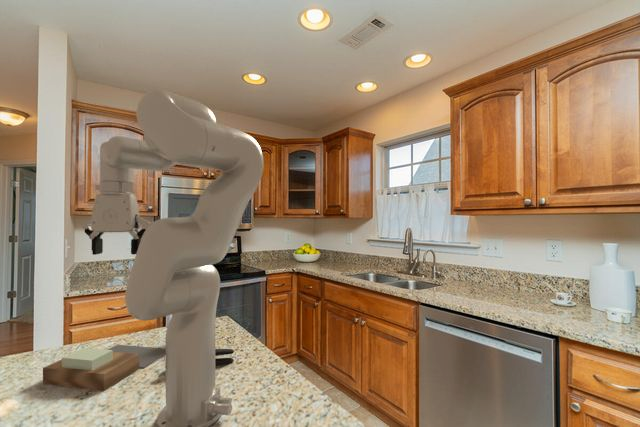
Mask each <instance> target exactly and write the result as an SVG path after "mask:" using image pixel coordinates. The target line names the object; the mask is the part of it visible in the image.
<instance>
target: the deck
mask: <svg viewBox="0 0 640 427" xmlns="http://www.w3.org/2000/svg"><path fill="white" fill-rule="evenodd" d="M138 369H139V370H140V368H139V354H131V353H120V352H113V360H111V361H109V362H107V363H105V364H103V365H102V366H100V367H98V368H96V369H94V370H82V369H72V368H63V367H62V358H61V359H60V360H57V361H55V362H53V363H50V364H49V365H46V366H44V367H42V385H48V386H56V387H66V388H74V389H75V388H76V389H82V390H83V389H84V390H90V391H99V392H105V391H107V390H109V389H110V388H112V387H113V386H115V385H117V384H118V383H119V382H121V381H123V380H124V379H126V378H127V377H129V376H131V375H133V374H134V373H136V372H137V371H139V370H138Z"/></svg>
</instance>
